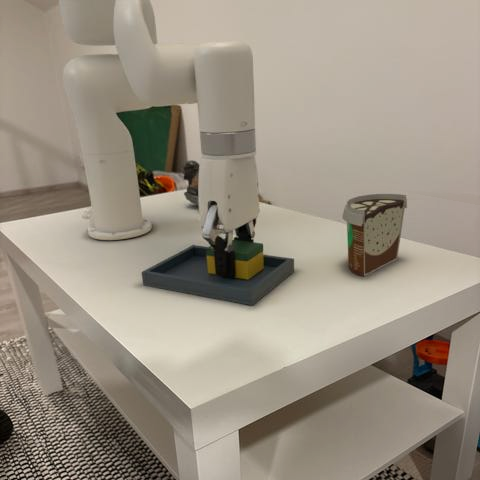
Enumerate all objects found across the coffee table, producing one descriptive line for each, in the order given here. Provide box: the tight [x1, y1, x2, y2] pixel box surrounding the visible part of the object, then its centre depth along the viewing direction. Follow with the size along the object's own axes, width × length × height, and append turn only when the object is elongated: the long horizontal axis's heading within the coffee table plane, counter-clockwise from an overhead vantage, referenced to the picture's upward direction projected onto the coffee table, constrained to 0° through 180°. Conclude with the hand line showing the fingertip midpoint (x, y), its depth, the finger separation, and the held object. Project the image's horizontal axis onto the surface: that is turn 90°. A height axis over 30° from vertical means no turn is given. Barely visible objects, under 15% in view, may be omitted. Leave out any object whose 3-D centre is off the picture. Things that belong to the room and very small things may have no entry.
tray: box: [141, 244, 295, 306], centre depth 77 cm, size 19×14×2 cm
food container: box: [342, 193, 408, 278], centre depth 78 cm, size 12×6×10 cm, turn 134°
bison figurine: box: [182, 160, 200, 207], centre depth 115 cm, size 12×7×10 cm, turn 39°
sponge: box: [206, 238, 264, 280], centre depth 77 cm, size 7×5×4 cm
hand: (235, 268), depth 77 cm, fingers closed on sponge, 5 cm apart
